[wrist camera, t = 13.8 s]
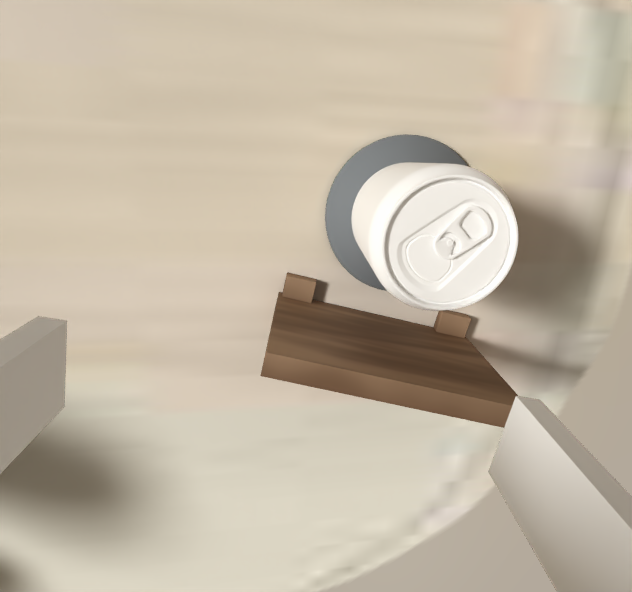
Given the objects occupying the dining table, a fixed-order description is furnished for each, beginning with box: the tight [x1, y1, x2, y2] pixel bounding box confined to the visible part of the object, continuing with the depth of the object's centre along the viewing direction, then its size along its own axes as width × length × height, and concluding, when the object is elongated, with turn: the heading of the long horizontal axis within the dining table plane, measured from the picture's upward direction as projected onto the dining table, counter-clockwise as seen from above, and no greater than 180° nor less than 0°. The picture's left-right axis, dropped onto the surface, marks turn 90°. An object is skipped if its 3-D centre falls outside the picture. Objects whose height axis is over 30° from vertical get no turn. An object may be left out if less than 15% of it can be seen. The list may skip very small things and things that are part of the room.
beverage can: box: [351, 162, 518, 311], centre depth 29 cm, size 8×8×12 cm
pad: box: [325, 135, 467, 291], centre depth 35 cm, size 12×12×1 cm
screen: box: [261, 273, 518, 428], centre depth 32 cm, size 5×16×12 cm, turn 76°
